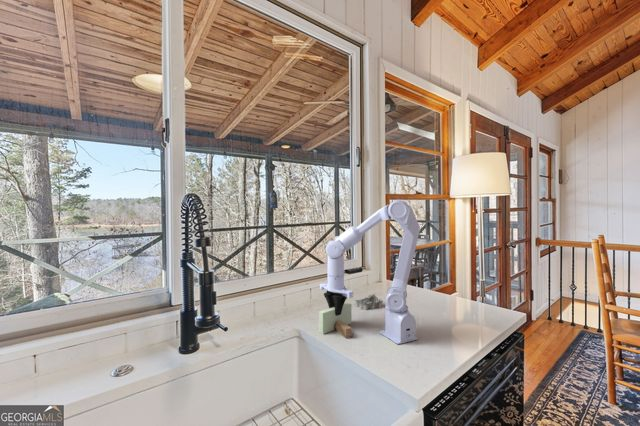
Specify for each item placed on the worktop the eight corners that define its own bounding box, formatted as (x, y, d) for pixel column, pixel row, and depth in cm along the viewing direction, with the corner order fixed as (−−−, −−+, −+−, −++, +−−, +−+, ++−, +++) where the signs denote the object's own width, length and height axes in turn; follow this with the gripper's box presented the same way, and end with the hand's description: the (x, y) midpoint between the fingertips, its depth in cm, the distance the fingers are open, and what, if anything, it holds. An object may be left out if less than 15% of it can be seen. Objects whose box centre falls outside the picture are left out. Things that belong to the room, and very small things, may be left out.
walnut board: (351, 337, 95) (351, 328, 95) (346, 338, 94) (346, 329, 94) (326, 318, 111) (326, 310, 111) (322, 319, 110) (322, 311, 110)
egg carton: (375, 303, 130) (375, 293, 130) (384, 308, 123) (384, 298, 123) (353, 305, 126) (353, 296, 126) (361, 311, 119) (362, 301, 119)
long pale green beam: (347, 321, 108) (347, 302, 108) (351, 323, 106) (351, 303, 106) (318, 332, 99) (318, 311, 98) (322, 334, 97) (322, 313, 97)
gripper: (359, 276, 99) (359, 316, 100) (329, 269, 110) (329, 305, 110) (344, 280, 95) (344, 322, 95) (315, 272, 106) (315, 310, 106)
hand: (335, 313), depth 102 cm, fingers closed on long pale green beam, 2 cm apart
